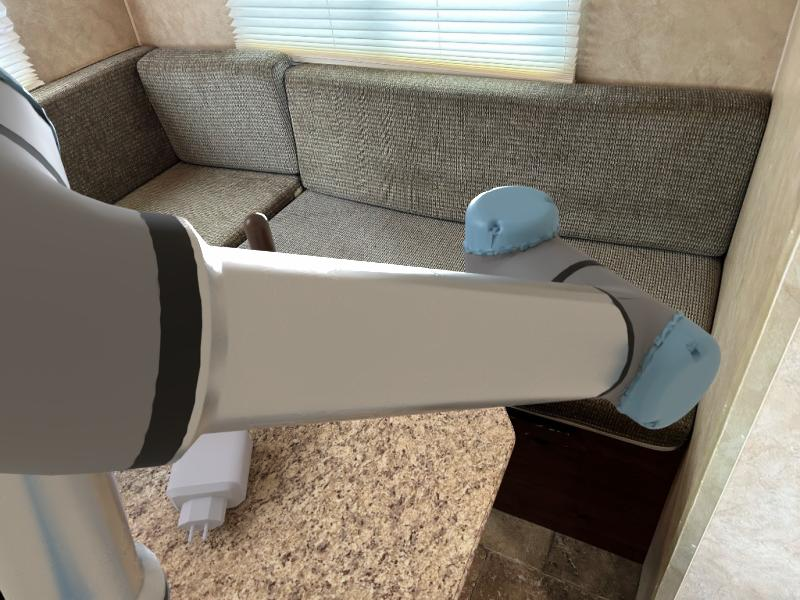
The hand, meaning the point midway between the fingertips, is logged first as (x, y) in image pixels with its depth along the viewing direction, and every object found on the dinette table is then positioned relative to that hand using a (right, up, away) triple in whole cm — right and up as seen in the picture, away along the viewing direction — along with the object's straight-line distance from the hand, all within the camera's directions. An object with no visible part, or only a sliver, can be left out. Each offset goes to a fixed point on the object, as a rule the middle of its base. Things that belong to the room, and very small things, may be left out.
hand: (235, 275), depth 71 cm
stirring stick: (+6, -10, +5) cm, 13 cm away
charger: (-5, -29, +8) cm, 30 cm away
